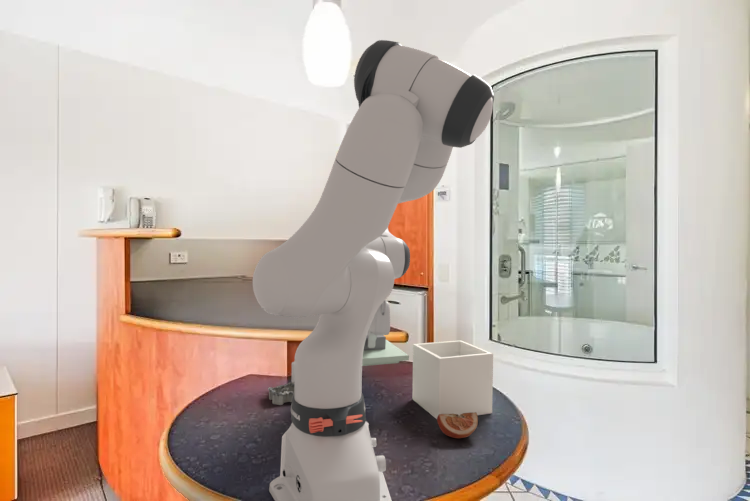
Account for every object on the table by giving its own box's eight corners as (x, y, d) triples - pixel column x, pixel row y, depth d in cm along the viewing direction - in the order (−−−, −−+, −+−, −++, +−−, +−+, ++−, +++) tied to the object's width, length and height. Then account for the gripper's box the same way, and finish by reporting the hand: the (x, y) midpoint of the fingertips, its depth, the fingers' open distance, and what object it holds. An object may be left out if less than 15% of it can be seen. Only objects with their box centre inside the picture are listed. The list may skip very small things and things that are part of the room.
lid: (408, 364, 99) (409, 342, 99) (346, 369, 94) (347, 346, 94) (385, 347, 113) (386, 328, 113) (330, 351, 108) (331, 331, 108)
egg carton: (307, 391, 113) (307, 376, 113) (315, 401, 106) (315, 385, 106) (266, 396, 109) (267, 380, 109) (272, 407, 102) (272, 390, 102)
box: (492, 413, 99) (493, 353, 99) (439, 421, 95) (439, 358, 94) (460, 392, 112) (461, 340, 112) (412, 399, 108) (413, 344, 107)
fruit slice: (470, 428, 91) (470, 405, 91) (484, 443, 84) (484, 418, 84) (433, 431, 89) (433, 408, 89) (444, 446, 83) (444, 421, 83)
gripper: (398, 294, 94) (396, 356, 95) (369, 283, 114) (367, 334, 114) (371, 295, 92) (369, 358, 93) (346, 283, 111) (344, 336, 112)
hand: (368, 345), depth 104 cm, fingers closed on lid, 2 cm apart
